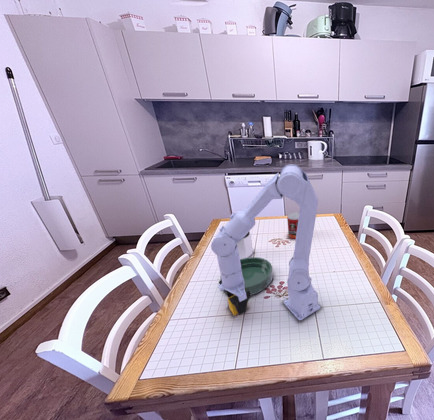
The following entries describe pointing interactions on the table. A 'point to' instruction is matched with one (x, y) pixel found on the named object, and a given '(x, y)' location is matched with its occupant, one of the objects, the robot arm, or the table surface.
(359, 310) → the table surface
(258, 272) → the bowl
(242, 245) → the jar
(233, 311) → the yellow cube
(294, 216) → the canned food
